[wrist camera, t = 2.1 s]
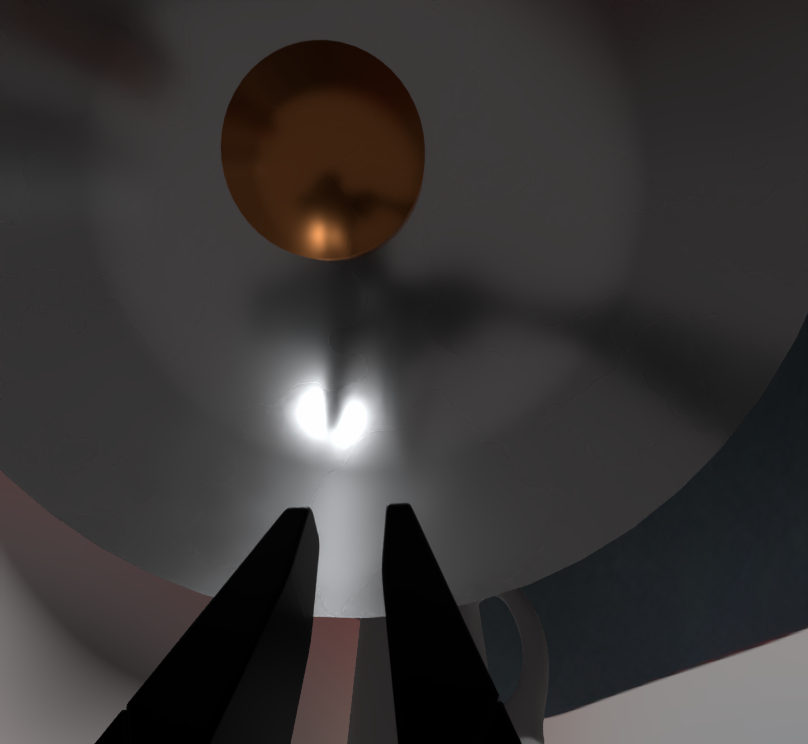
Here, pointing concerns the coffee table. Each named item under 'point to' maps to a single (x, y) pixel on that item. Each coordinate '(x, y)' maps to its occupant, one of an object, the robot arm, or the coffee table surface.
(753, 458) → the coffee table surface
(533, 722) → the mug
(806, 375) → the coffee table surface
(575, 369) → the lid
